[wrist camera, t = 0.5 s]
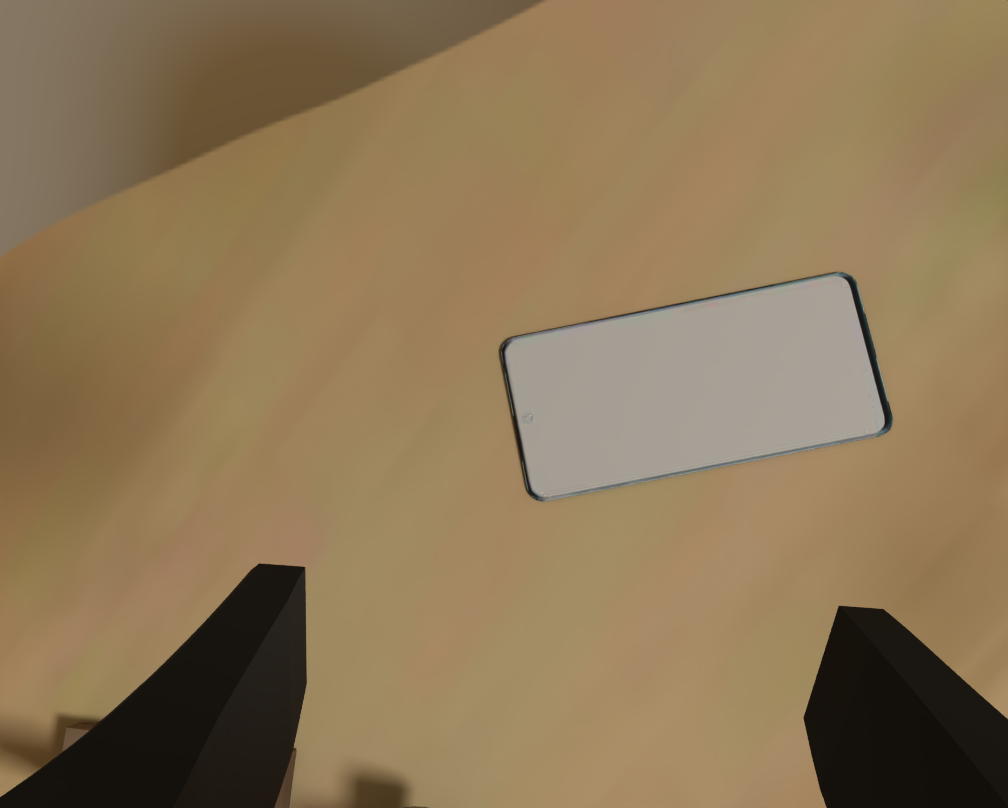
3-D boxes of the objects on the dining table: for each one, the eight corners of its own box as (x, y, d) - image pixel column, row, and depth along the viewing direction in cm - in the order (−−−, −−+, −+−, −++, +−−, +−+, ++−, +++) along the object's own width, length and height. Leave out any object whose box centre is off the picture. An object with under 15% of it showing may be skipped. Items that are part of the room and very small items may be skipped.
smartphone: (897, 432, 37) (530, 504, 38) (892, 434, 38) (530, 504, 38) (853, 268, 38) (498, 339, 39) (849, 272, 39) (499, 342, 39)
